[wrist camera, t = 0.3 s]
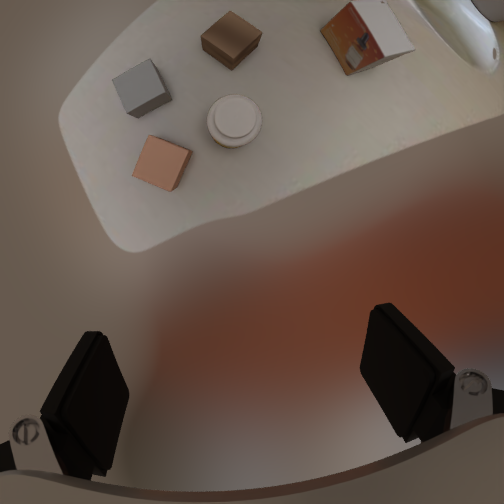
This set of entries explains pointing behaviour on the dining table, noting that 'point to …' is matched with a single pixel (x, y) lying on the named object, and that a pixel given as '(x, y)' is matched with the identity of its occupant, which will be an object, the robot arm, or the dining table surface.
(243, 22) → the walnut block
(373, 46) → the small box
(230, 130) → the supplement bottle
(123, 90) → the slate block
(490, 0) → the cylinder vase
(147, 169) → the terracotta block
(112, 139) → the dining table surface
